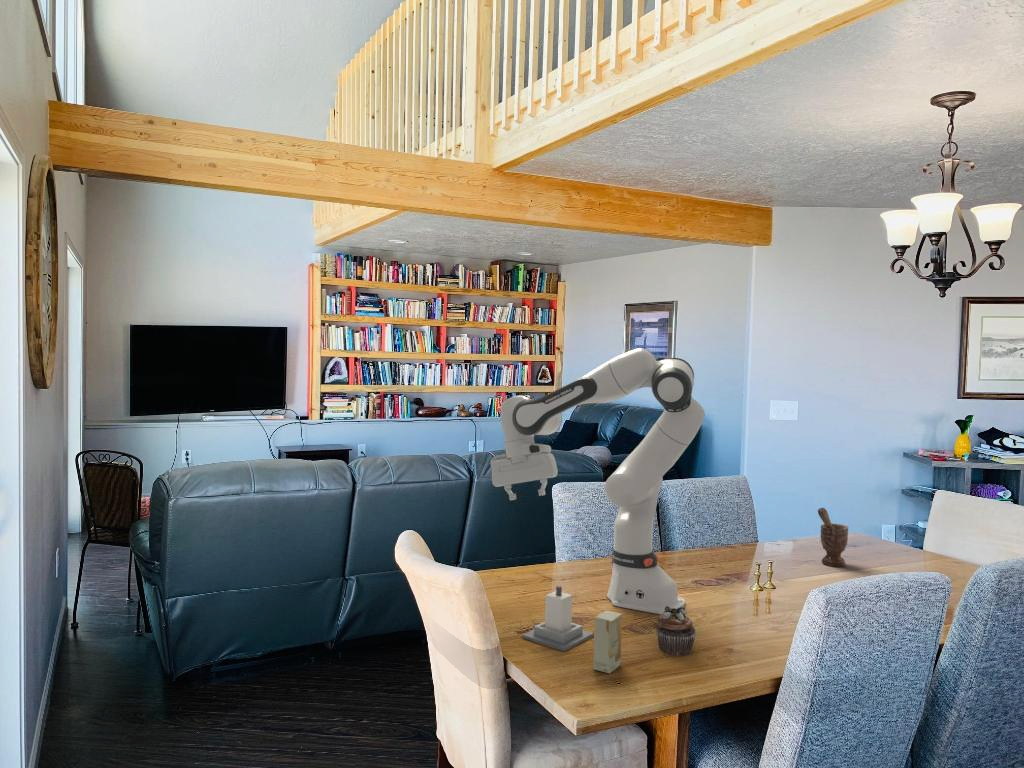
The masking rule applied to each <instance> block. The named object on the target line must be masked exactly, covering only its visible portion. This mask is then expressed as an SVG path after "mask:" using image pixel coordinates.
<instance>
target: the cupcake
mask: <svg viewBox="0 0 1024 768" xmlns="http://www.w3.org/2000/svg"><path fill="white" fill-rule="evenodd" d="M686 615H687V610H686V608H685V607H683V608H682V607H680V608H678V609H677V610H676V609H675V608H673V609H671V608H669V607H668V606H666V607H665V609H664V614H659V616H657V618H656V619H657V620H656V624H655V630H656V636H657V642H658V647H659V651H661V652H663V653H664V654H665V653H666V654H668V655H672V656H687V655H690V654H691V653H692V652H693V648H694V643H695V640H696V635H697V630H696V628H695V627H694V625H693V624H694V623H693V621H692V620H691V618H690V617H688V616H686Z"/></svg>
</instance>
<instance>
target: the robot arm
mask: <svg viewBox="0 0 1024 768" xmlns="http://www.w3.org/2000/svg"><path fill="white" fill-rule="evenodd" d="M694 383H695V373H694V369H693V367H692V366H691V364H690V363H689V362H687V361H686V359H685V360H684V359H683V358H680V357H679V358H678V357H657V358H655V357H654V355H653V353H651V352H650V351H648V350H647V349H645V348H641V347H639V348H634V349H632V350H629V351H626V352H624V353H622V354H619V355H616V356H615V357H612V358H611V359H609V360H607V361H606V362H604V363H602V364H601V365H598V367H596V368H594V369H593V370H591V371H589V372H588V373H586V374H585V375H583V376H581V377H579V378H577V379H576V380H574V381H572V382H570V383H568V384H566V385H564V386H562V387H560V388H558V389H556V390H554V391H552V392H550V393H548V394H545V395H544V396H541V397H539V398H528V397H526V396H525V395H513V396H511V397H508V398H507V399H505V400H503V402H502V403H501V407H500V419H501V420H500V421H501V428H502V432H503V434H504V439H503V441H504V449H505V453H503V454H499V455H494V456H493V457H492V458H491V459H490V468H491V481H492V482H491V483H492V485H493V486H494V487H495V488H497V487H504V491H505V492H506V493H507V495H508V498H509V501H514V500H517V493H513V491H512V488H513V487H512V485H516V484H523V483H527V482H534V481H539V483H540V484H541V485H540V488H539V489H537V492H538V496H539V497H540V496H545V495H546V487H547V485H548V479H550V478H551V479H552V478H556V477H557V476H558V473H559V472H558V466H557V462H556V461H557V460H556V458H555V456H554V454H552V453H551V452H552V447H551V446H550V445H548V444H543V443H539V442H535V438H534V437H535V436H549V435H552V434H554V433H556V432H558V430H559V429H560V428H561V426H562V422H563V413H565V412H566V411H568V410H570V409H572V408H574V407H577V406H580V405H581V406H582V405H586V404H607V403H611V402H615V401H617V400H620V399H622V398H624V397H627V396H628V395H630V394H632V393H633V392H635V391H637V390H639V389H642V388H643V389H644V388H651V392H652V394H653V396H654V398H655V399H656V400H657V402H658V403H660V405H661V406H662V407H663V409H664V410H663V412H662V413H661V414H660V417H658V419H657V420H656V421H655V423H654V424H653V425H652V427H651V428H650V430H649V431H648V432H647V434H646V435H645V436H644V438H643V439H642V440H641V441H640V442H639V444H638V445H637V446H636V447H635V448H634V449H633V451H631V453H629V454H628V455H627V457H626V458H625V459H624V460H623V461H622V462H621V464H619V466H618V467H617V468H616V469H615V471H613V472H612V474H611V475H610V476H608V478H607V479H606V481H605V484H604V494H605V497H606V498H607V500H608V501H609V502H610V503H611V504H612V505H614V506H616V507H619V509H618V513H617V515H616V518H615V520H614V526H613V532H614V533H613V548H612V550H611V551H612V552H611V553H612V554H611V565H612V572H611V573H612V574H611V578H610V584H609V588H608V592H607V594H606V597H607V599H609V600H610V602H611V604H612V606H615V607H620V608H625V609H630V610H636V611H641V612H644V613H645V612H646V613H652V614H657V615H661V614H664V609H665V607H666V606H668V607H669V608H671V609H673V608H675V609H676V610H677V609H678V608H680V607H682V608H685V606H686V600H685V598H682V597H680V596H678V595H679V594H678V588H677V584H676V581H674V579H673V578H672V577H670V575H669V574H668V573H667V572H666V571H664V570H663V568H661V567H660V566H659V565H658V560H660V559H661V554H659V555H656V554H655V553H654V552H655V551H654V550H653V536H654V535H653V533H654V532H653V529H654V520H655V515H656V511H657V505H658V500H659V495H660V491H661V488H662V487H663V482H664V481H663V480H664V479H663V477H664V476H665V474H666V473H667V472H668V471H669V470H670V469H671V468H672V467H673V466H675V464H676V462H677V461H678V460H679V459H680V457H681V456H682V455H683V453H684V452H685V450H687V448H688V447H689V445H690V444H691V443H692V441H693V440H694V439H695V437H696V436H697V434H698V433H699V430H700V428H701V426H702V424H703V423H704V420H705V418H706V417H705V416H706V413H705V409H704V408H703V406H702V404H701V403H699V402H698V401H697V400H695V399H694V398H693V396H692V394H693V389H694Z"/></svg>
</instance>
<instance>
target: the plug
mask: <svg viewBox="0 0 1024 768" xmlns="http://www.w3.org/2000/svg"><path fill="white" fill-rule="evenodd" d="M562 589H563V587H562V586H559V585H557V586H555V590H554V591H552V592H549V593H547V594H545V599H544V601H545V602H544V603H545V605H544V606H545V608H544V609H545V611H544V621H545V628H547V629H550V630H553V631H556V632H560V633H564V632H566V631H568V630H570V629H571V626H572V623H573V622H572V620H573V619H572V617H573V614H572V613H573V594H570V593H566V592H562V591H563V590H562Z"/></svg>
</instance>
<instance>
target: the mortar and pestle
mask: <svg viewBox="0 0 1024 768" xmlns="http://www.w3.org/2000/svg"><path fill="white" fill-rule="evenodd" d="M817 512H818V513H817V515H818V516H819V517H820V519H821V522H822V524H821V525H820V543H821V546H822V548H823V550H825V552H826V555H824V557H823V558H822V559H821V563H822V564H823V565H826V566H828V567H834V568H836V567H837V568H838V567H839V568H841V567H845V566H846V561H845V558H843V557H842V554H843V552H845V550H846V547H847V545H848V540H849V526H847V525H845V524H841V523H832V522H831V519H830V515H829V512H828V510H827V509H826V508H825V507H820V508H819V509H817Z"/></svg>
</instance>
